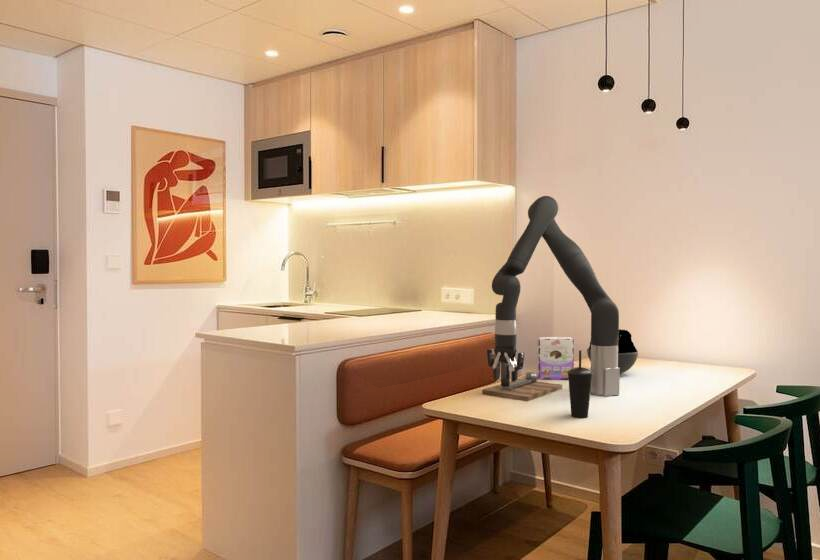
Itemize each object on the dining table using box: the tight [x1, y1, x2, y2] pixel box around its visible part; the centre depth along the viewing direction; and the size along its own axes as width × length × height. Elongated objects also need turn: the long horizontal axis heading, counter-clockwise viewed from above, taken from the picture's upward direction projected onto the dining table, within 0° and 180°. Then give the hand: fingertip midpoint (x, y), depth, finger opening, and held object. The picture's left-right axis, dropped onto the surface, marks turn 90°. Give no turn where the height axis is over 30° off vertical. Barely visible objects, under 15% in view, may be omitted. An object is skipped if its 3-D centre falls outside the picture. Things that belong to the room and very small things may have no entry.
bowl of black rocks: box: [586, 328, 639, 375], centre depth 263 cm, size 20×20×19 cm
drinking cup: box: [567, 350, 593, 419], centre depth 194 cm, size 8×8×20 cm
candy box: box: [536, 336, 575, 381], centre depth 254 cm, size 14×6×16 cm, turn 84°
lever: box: [500, 361, 538, 390], centre depth 231 cm, size 22×4×10 cm, turn 141°
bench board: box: [481, 378, 563, 402], centre depth 230 cm, size 26×18×2 cm
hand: (505, 380), depth 224 cm, fingers open, 6 cm apart
